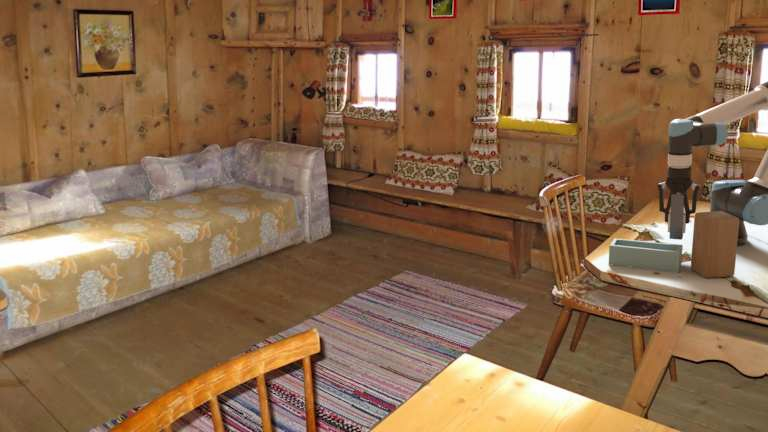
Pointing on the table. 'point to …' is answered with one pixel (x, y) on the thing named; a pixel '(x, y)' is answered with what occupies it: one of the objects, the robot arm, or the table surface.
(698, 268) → the wooden block
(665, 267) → the grey-green open box
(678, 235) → the brushed steel bar
